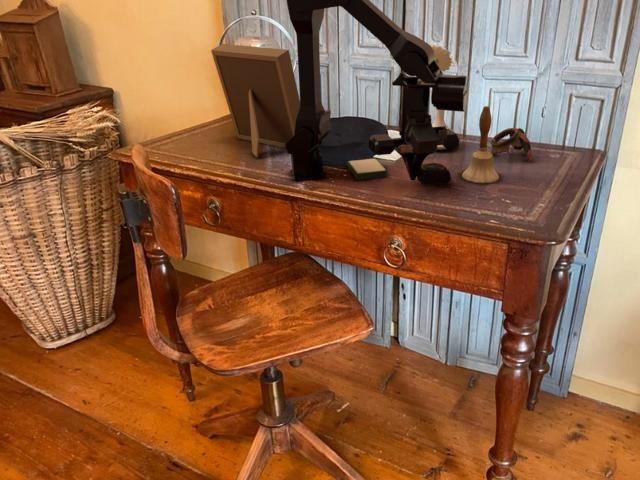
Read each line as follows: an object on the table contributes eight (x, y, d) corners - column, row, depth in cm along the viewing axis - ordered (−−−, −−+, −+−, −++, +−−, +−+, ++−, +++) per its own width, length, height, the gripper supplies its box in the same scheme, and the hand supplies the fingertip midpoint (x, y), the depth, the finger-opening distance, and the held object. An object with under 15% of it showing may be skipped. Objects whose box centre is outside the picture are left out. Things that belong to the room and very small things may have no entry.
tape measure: (420, 189, 125) (420, 173, 123) (413, 178, 131) (414, 162, 129) (450, 187, 125) (451, 171, 124) (442, 176, 131) (443, 161, 130)
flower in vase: (468, 147, 150) (476, 46, 138) (438, 156, 144) (444, 51, 132) (432, 136, 159) (437, 40, 147) (403, 144, 153) (405, 45, 140)
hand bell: (498, 184, 127) (507, 112, 119) (461, 182, 128) (466, 110, 120) (498, 172, 134) (506, 102, 126) (462, 170, 135) (468, 101, 127)
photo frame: (248, 134, 163) (237, 41, 151) (309, 146, 153) (303, 46, 140) (210, 148, 152) (195, 48, 140) (273, 161, 142) (263, 55, 130)
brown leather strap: (531, 167, 137) (517, 139, 134) (495, 178, 143) (481, 150, 140) (541, 141, 145) (528, 114, 141) (507, 152, 151) (494, 126, 147)
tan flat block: (357, 180, 130) (356, 173, 129) (347, 167, 138) (347, 161, 137) (386, 176, 132) (386, 170, 131) (375, 164, 139) (375, 158, 138)
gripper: (383, 121, 109) (382, 197, 117) (473, 114, 113) (467, 188, 121) (367, 107, 118) (367, 179, 126) (451, 101, 123) (446, 171, 130)
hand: (412, 179), depth 126 cm, fingers closed
